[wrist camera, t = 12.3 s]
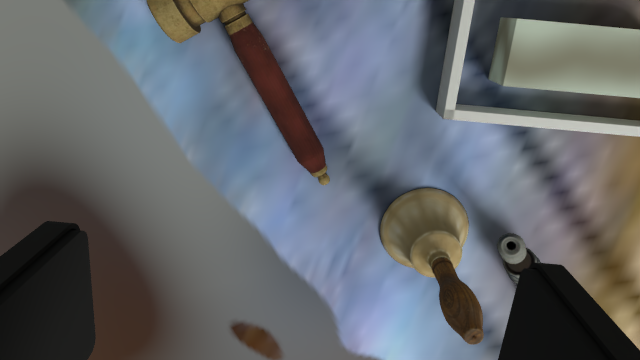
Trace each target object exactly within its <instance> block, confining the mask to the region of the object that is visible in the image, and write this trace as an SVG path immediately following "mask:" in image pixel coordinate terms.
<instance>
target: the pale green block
mask: <svg viewBox="0 0 640 360" xmlns="http://www.w3.org/2000/svg"><path fill="white" fill-rule="evenodd" d="M488 79H489V80H491V81H493V82H496V83H498V84H500V85H502V86H510V87H521V88H532V89H543V90H555V91H566V92H577V93H588V94H599V95H611V96H622V97H633V98H640V30H637V29H626V28H616V27H605V26H594V25H583V24H572V23H561V22H550V21H539V20H528V19H517V18H502V17H501V18H500V23H499V28H498V33H497V38H496V43H495V48H494V53H493V58H492V63H491V68H490V73H489V78H488Z"/></svg>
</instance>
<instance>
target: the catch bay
mask: <svg viewBox="0 0 640 360" xmlns="http://www.w3.org/2000/svg"><path fill="white" fill-rule="evenodd" d="M474 2H475V0H454V5H453V11H452V17H451V23H450V29H449V35H448V41H447V47H446V53H445V59H444V64H443V70H442V76H441V82H440V88H439V94H438V100H437V106H436V112H437V113H438V114H439V115H440V116H441V117H442V118H443V119H450V120H461V121H472V122H483V123H494V124H505V125H516V126H528V127H539V128H550V129H561V130H572V131H583V132H594V133H605V134H616V135H627V136H639V137H640V121H639V120H628V119H617V118H606V117H595V116H584V115H573V114H562V113H551V112H540V111H529V110H518V109H507V108H496V107H485V106H474V105H463V104H456V101H457V95H458V90H459V84H460V79H461V74H462V68H463V63H464V57H465V52H466V46H467V41H468V35H469V30H470V24H471V19H472V13H473V8H474Z"/></svg>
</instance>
